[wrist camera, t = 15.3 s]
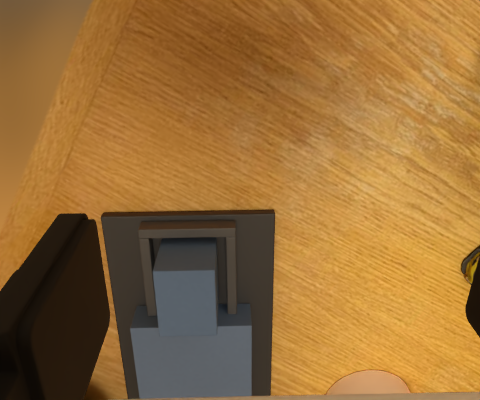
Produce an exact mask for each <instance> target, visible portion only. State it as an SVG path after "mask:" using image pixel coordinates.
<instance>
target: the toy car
mask: <svg viewBox="0 0 480 400" xmlns="http://www.w3.org/2000/svg"><path fill="white" fill-rule="evenodd" d="M479 256H480V247H479V248H478V249H476V250H475V251H474V252H473V253H472V254H471V255H469V256H468V257H467V259H465V260H464V261H463V264H462V272H463V274H465V273H467V277H466V280H467V281H468V282H469V283H470V284H471V285H472V282H473V278H474V274H475V271H476V267H477V263H478V260H479Z"/></svg>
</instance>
